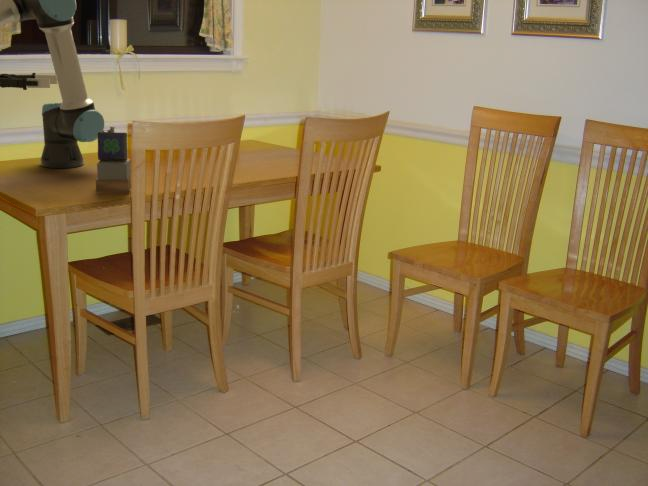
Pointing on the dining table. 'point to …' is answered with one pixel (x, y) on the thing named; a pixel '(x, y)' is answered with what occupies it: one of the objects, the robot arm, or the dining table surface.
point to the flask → (112, 145)
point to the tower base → (113, 186)
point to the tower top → (114, 169)
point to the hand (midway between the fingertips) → (53, 81)
